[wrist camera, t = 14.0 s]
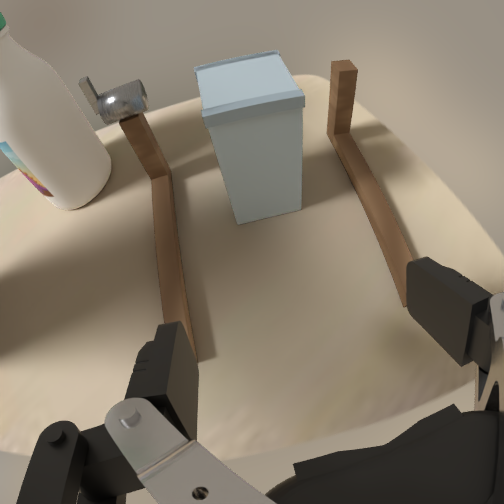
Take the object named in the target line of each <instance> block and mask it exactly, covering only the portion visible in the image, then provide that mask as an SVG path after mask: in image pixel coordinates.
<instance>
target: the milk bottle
mask: <svg viewBox="0 0 504 504" xmlns="http://www.w3.org/2000/svg"><path fill="white" fill-rule="evenodd" d="M8 31H9V27H8V26H7V25H6V21H5V19H4V17H3V15H2V14H1V12H0V149H1V150H2V151H3V152H4V154H5V155H6V156H7V157H8V158H9V159H10V160H11V161H12V162H13V164H14V165H15V166H16V167H17V168H18V169H19V170H20V171H21V172H22V173H23V175H24V176H25V177H26V178H27V179H28V180H29V181H30V182H31V183H32V184H33V185H34V186H35V187H36V188H37V189H38V190H39V191H40V192H41V193H42V194H43V195H44V196H45V197H46V198H47V199H48V200H49V201H50V202H51V203H52V204H53V205H54V206H56V207H57V208H59V209H63V210H73V209H76V208H79V207H81V206H83V205H85V204H87V203H88V202H90V201H91V200H92V199H93V198H94V197H96V196H97V195H98V193H99V192H100V191H101V190H102V189H103V187H104V186H105V184H106V183H107V181H108V179H109V176H110V173H111V158H110V155H109V154H108V152H107V150H106V149H105V147H104V146H103V144H102V142H101V141H100V139H99V138H98V136H97V135H96V133H95V131H94V130H93V128H92V127H91V125H90V124H89V122H88V121H87V119H86V117H85V116H84V114H83V113H82V111H81V109H80V108H79V106H78V105H77V103H76V101H75V100H74V98H73V97H72V95H71V93H70V92H69V90H68V89H67V87H66V86H65V84H64V83H63V81H62V80H61V78H60V77H59V75H58V74H57V73H56V71H55V70H54V69H53V68H52V67H51V66H50V65H49V64H48V63H46V62H45V61H44V60H43V59H41V58H39V57H37V56H36V55H34V54H32V53H30V52H29V51H27V50H25V49H24V48H23V47H21V46H20V45H19V44H17V43H16V42H15V41H14V40H13V39H12V38H11V36H10V35H9V32H8Z"/></svg>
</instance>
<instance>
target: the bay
mask: <svg viewBox="0 0 504 504" xmlns="http://www.w3.org/2000/svg"><path fill="white" fill-rule="evenodd" d="M357 73H358V69H357V68H356V67H355V66H354V65H353V63H352V62H351V61H350V60H341V61H332V62H331V79H330V96H329V110H328V124H327V135H328V137H329V139H330V140H331V142H332V144H333V146H334V148H335V150H336V152H337V154H338V156H339V158H340V160H341V162H342V164H343V166H344V168H345V170H346V172H347V174H348V176H349V178H350V180H351V182H352V184H353V186H354V188H355V190H356V192H357V195H358V197H359V199H360V201H361V203H362V205H363V208H364V210H365V212H366V214H367V216H368V219H369V221H370V223H371V225H372V228H373V230H374V232H375V235H376V237H377V239H378V242H379V244H380V247H381V249H382V252H383V254H384V257H385V259H386V262H387V264H388V267H389V269H390V272H391V274H392V277H393V280H394V282H395V285H396V288H397V290H398V293H399V296H400V299H401V301H402V304H403V307H406V306H407V304H406V266H407V264H408V262H410V261H413V258H412V256H411V253H410V251H409V249H408V246H407V244H406V242H405V240H404V237H403V235H402V233H401V231H400V228H399V226H398V224H397V222H396V220H395V218H394V216H393V213H392V211H391V209H390V207H389V205H388V203H387V201H386V199H385V197H384V195H383V193H382V191H381V189H380V187H379V185H378V183H377V181H376V179H375V178H374V176H373V174H372V172H371V170H370V168H369V166H368V164H367V163H366V161H365V159H364V157H363V155H362V154H361V152H360V150H359V148H358V147H357V145H356V143H355V141H354V140H353V138H352V136H351V134H350V133H349V132H350V125H351V118H352V111H353V104H354V97H355V89H356V81H357ZM119 124H120V126H121V128H122V130H123V131H124V133H125V135H126V137H127V139H128V140H129V142H130V144H131V146H132V147H133V149H134V151H135V153H136V154H137V156H138V158H139V160H140V161H141V163H142V165H143V166H144V168H145V170H146V172H147V173H148V175H149V177H150V178H151V184H152V203H153V218H154V232H155V244H156V255H157V265H158V275H159V284H160V293H161V301H162V309H163V316H164V323H170V322H175V321H181V322H182V324H183V326H184V328H185V331H186V334H187V336H188V339H189V342H190V344H191V347H192V349H193V352H194V355H195V357H196V360H197V356H196V350H195V345H194V339H193V334H192V328H191V322H190V316H189V310H188V304H187V297H186V291H185V284H184V277H183V270H182V263H181V256H180V248H179V240H178V232H177V224H176V215H175V206H174V197H173V187H172V177H171V170H170V168H169V166H168V164H167V162H166V160H165V158H164V156H163V153H162V151H161V149H160V147H159V145H158V143H157V141H156V139H155V137H154V135H153V133H152V131H151V129H150V127H149V124H148V122H147V120H146V118H145V116H144V114H143V112H142V113H139V114H136V115H133V116H130V117H128V118H125V119H122V120H120V121H119ZM197 363H198V361H197Z"/></svg>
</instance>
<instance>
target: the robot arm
mask: <svg viewBox="0 0 504 504" xmlns="http://www.w3.org/2000/svg"><path fill="white" fill-rule="evenodd" d="M406 304H407V308H408V311H409V313H410V315H411V316H412V317H413V318H414V319H415V320H416V321H417V322H418V323H419V324H420V325H421V326H422V327H423V328H424V329H425V330H426V331H427V332H428V333H429V334H430V335H431V336H432V337H433V338H434V339H435V340H436V341H437V342H438V343H439V344H440V345H441V346H442V347H443V348H444V350H445V351H446V352H447V353H448V354H449V355H450V356H451V357H452V358H453V359H454V360H455V361H456V362H457V363H458V364H459V365H460V366H461V367H462V366H464V365H466V364H468V363H470V362H472V361H473V360H474V361H475V362H476V363H477V367H476V371H475V404H474V405H475V406H474V411H469V412H463V413H461V412H460V411H459V410H458V408H457V407H456V406H455V405H454V404H452V405H450V406H448V407H446V408H444V409H442V410H440V411H438V412H436V413H434V414H432V415H430V416H428V417H426V418H424V419H422V420H420V421H418V422H417V423H416V424H414V425H413V426H412V427H410V428H409V429H407V431H405V432H403V433H402V434H401V435H399V436H398V437H396V438H395V439H393V440H392V441H390V442H389V443H387V444H385V445H382V446H376V447H370V448H363V449H356V450H347V451H338V452H335V453H331V454H328V455H324V456H321V457H317V458H314V459H310V460H306V461H302V462H298V463H294V464H293V466H294V470H295V474H296V475H295V476H293V477H291V478H288V479H287V480H285V481H283V482H281V483H280V484H278V485H276V486H275V487H274V488H272V489H271V490H270V491H269V492H267V493H266V494H265V495H264V494H262V493H261V492H259V491H258V490H256V489H255V488H254V487H253V486H251V485H250V484H249V483H247V482H246V481H245V480H243V479H242V478H241V477H239V476H238V475H237V474H236V473H234V472H233V471H232V470H231V469H229V468H228V467H227V466H226V465H224V464H223V463H222V462H221V461H220V460H218V459H217V458H216V457H215V456H214V455H213V454H211V453H210V452H209V451H208V450H207V449H206V448H204V447H203V446H202V445H201V444H200V443H199V442H197V412H198V385H199V370H198V364H197V360H196V357H195V355H194V352H193V349H192V347H191V344H190V342H189V339H188V336H187V334H186V331H185V328H184V326H183V324H182V322H181V321H175V322H170V323H165V324H161V325H158V328H157V332H156V335H155V339H154V341H149V342H147V343H146V344H145V345H144V346H143V347H142V349H141V350H140V351H139V352H138V356H137V359H136V364H135V365H134V368H133V373H132V375H131V378H130V382H129V385H128V388H127V392H126V395H125V399H124V400H123V401H121V402H119V403H117V404H116V405H115V406H113V407H112V408H111V409H110V410H109V412H108V413H107V415H106V417H105V424H102V425H100V426H97V427H94V428H91V429H87V430H84V431H81V432H80V430H79V429H78V428H77V426H76V425H75V424H74V423H72V422H70V421H59V422H55V423H53V424H51V425H49V426H48V427H47V428H46V429H45V430H44V431H43V432H42V433H41V434H40V436H39V438H38V441H37V443H36V446H35V449H34V451H33V454H32V457H31V460H30V463H29V466H28V468H27V472H26V474H25V478H24V480H23V484H22V486H21V490H20V493H19V496H18V500H17V503H16V504H76V502H77V504H126V493H130V492H133V491H136V490H140V489H143V488H146V489H147V490H148V492H149V493H150V494H151V495H152V497H153V498H154V499H155V500H156V502H157V503H158V504H504V292H501V293H497V294H495V295H494V296H493V295H492V294H491V293H489V292H488V291H486V290H485V289H483V288H482V287H480V286H479V285H477V284H476V283H474V282H473V281H470V280H469V279H468V278H466V277H465V276H462V274H460V273H459V272H457V271H455V270H454V269H451V268H448V267H444V266H442V265H440V264H438V263H437V262H435V261H434V260H432V259H430V258H429V257H423V258H420V259H416V260H413V261H410V262H408V264H407V266H406ZM78 492H79V494H78ZM77 497H78V500H77Z"/></svg>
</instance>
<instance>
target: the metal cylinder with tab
mask: <svg viewBox="0 0 504 504" xmlns="http://www.w3.org/2000/svg"><path fill="white" fill-rule="evenodd" d="M79 86H80V88H81V89H82V91H83V93H84V95H85V96H86V98H87V100H88V101H89V103H90V105H91V107H92V108H93V110H94V112H95V113H96V115H97V114H100V116H101V118H102V119H103V121H104V123H105V124H107V125H109V124H112V123H114V122H117V121H120V120H122V119H125V118H128V117H130V116H133V115H136V114H139V113H142V112H145V111H147V110H148V109H149V105H148V99H147V94H146V91H145V88H144V86H143V84H142V82H141V81H140V80H139V79H138V80H135V81H132V82H130V83H127V84H124V85H121V86H119V87H116V88H114V89H111V90H109V91H106V92H104V93H101V94H99V95H98V94H97V92H96V91H95V89H94V87H93V85H92V83H91V81H90V80H89V78H88V76H87V77H85V78H82V79H80V81H79Z"/></svg>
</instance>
